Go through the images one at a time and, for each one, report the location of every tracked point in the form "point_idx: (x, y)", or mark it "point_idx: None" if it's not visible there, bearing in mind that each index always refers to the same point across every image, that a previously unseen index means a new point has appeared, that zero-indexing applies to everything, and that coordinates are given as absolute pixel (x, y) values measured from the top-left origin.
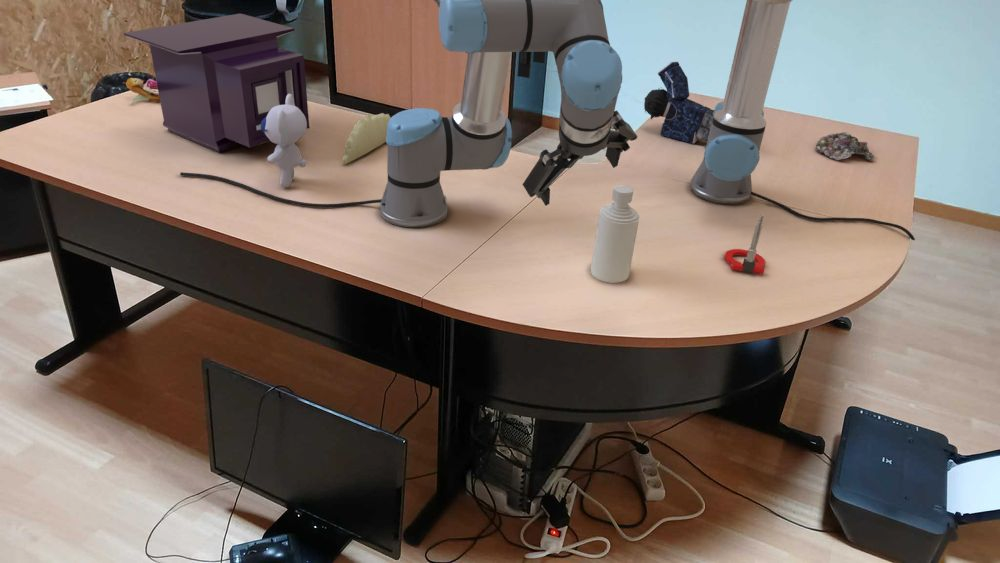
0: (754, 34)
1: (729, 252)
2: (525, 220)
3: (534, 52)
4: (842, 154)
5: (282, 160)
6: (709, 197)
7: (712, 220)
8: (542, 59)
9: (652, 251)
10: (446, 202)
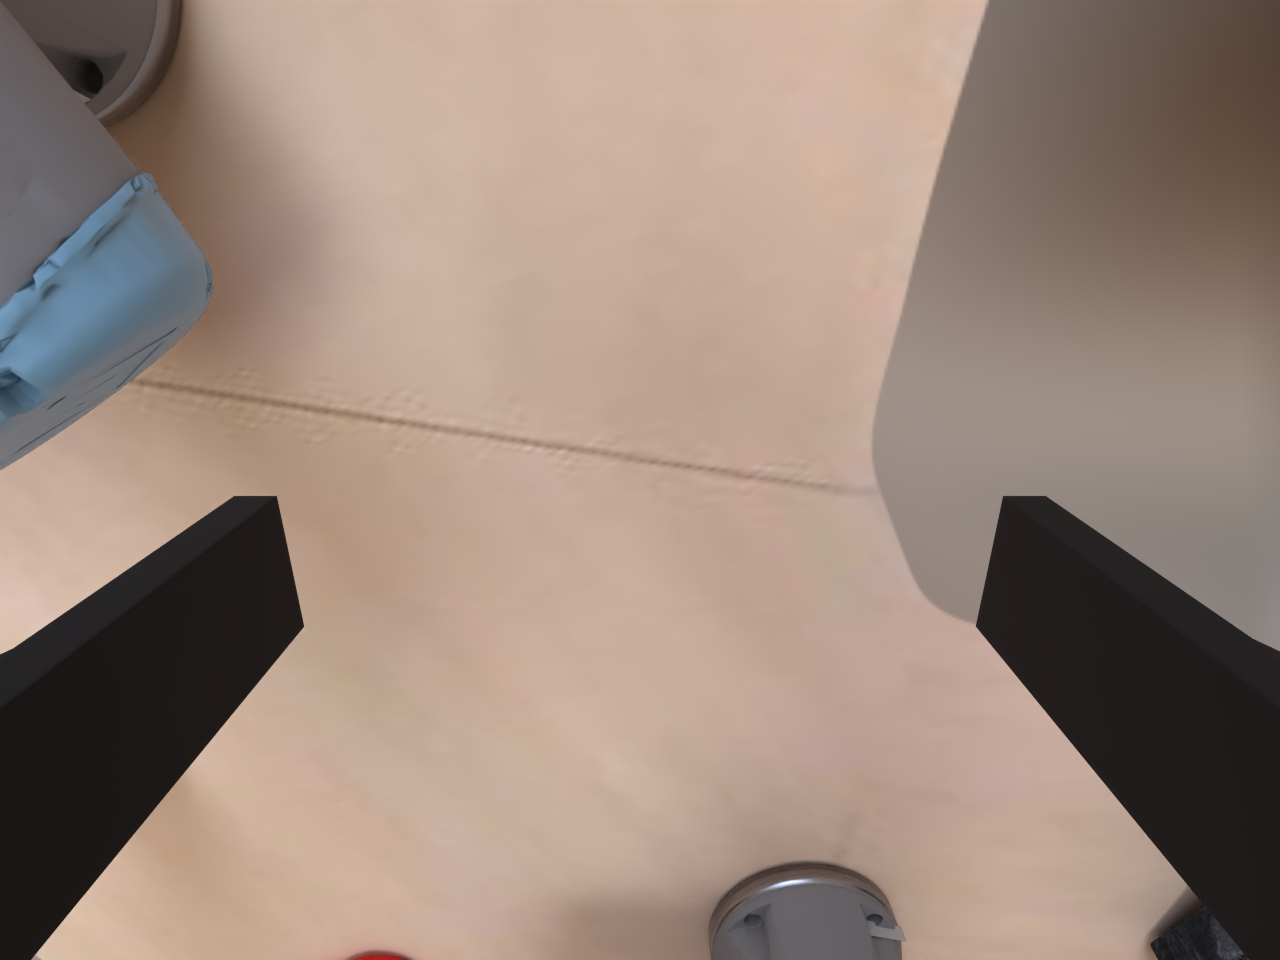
0: None
1: None
2: (269, 448)
3: (1081, 566)
4: None
5: None
6: (715, 922)
7: (590, 920)
8: (1002, 637)
9: (309, 815)
10: (94, 105)
